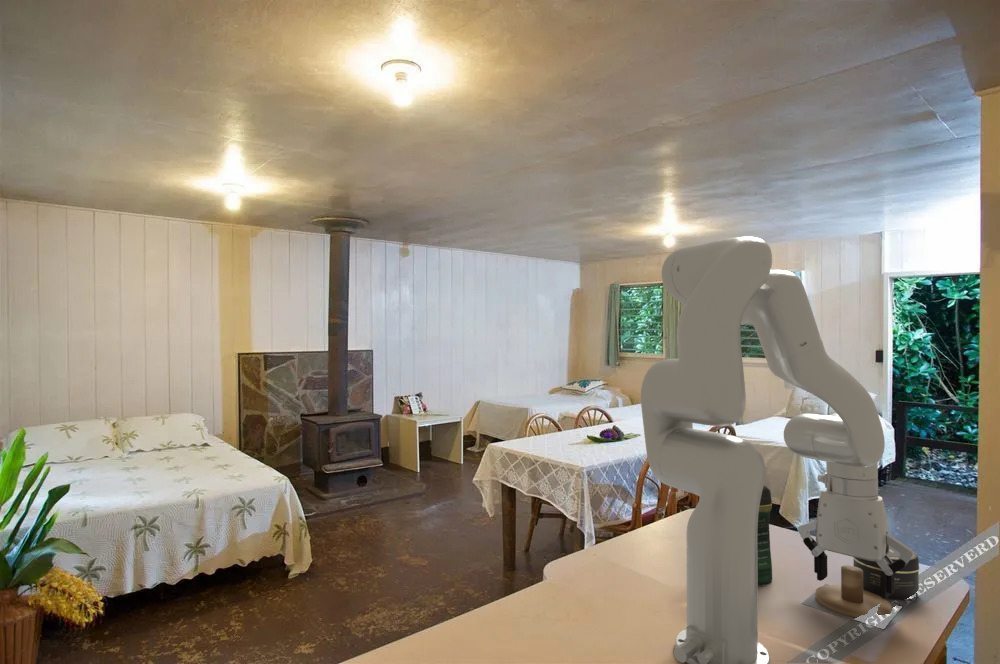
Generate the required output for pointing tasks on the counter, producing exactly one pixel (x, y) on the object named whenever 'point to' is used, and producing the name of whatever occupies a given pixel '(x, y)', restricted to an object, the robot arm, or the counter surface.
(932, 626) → the counter surface
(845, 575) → the lid
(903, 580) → the jar
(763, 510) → the coffee jar
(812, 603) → the mat
